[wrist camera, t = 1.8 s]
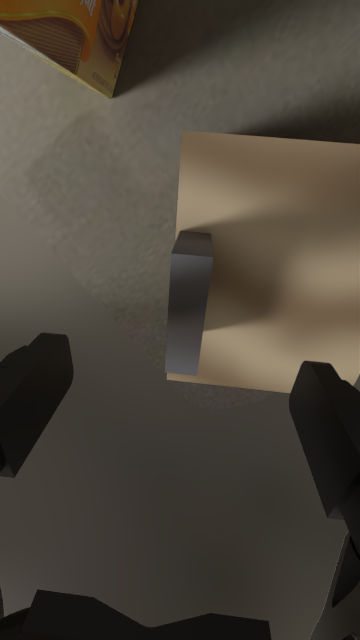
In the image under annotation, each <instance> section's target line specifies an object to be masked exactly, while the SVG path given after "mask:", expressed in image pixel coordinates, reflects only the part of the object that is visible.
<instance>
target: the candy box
mask: <svg viewBox="0 0 360 640" xmlns="http://www.w3.org/2000/svg"><path fill="white" fill-rule="evenodd" d="M137 4H138V0H0V33H1V34H2V35H4V36H5V37H7V38H9V39H10V40H12V41H13V42H15V43H16V44H18V45H20V46H21V47H23V48H24V49H26V50H28V51H29V52H31V53H32V54H34V55H35V56H37V57H39V58H40V59H42V60H43V61H45V62H46V63H48V64H50V65H51V66H53V67H54V68H56V69H58V70H59V71H61V72H63V73H64V74H66V75H68V76H69V77H71V78H73V79H75V80H76V81H78V82H80V83H82V84H83V85H85V86H87V87H89V88H91V89H92V90H94V91H96V92H98V93H100V94H102V95H104V96H105V97H107V98H109V99H111V98H112V95H113V91H114V88H115V84H116V81H117V77H118V74H119V70H120V66H121V63H122V59H123V55H124V52H125V48H126V44H127V41H128V37H129V33H130V30H131V27H132V23H133V19H134V15H135V12H136V8H137Z"/></svg>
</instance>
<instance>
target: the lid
mask: <svg viewBox="0 0 360 640" xmlns="http://www.w3.org/2000/svg"><path fill="white" fill-rule="evenodd" d="M304 361H316V362H326V363H330V364H331V365H332V366H333V367H334V369H335V370H336V372H337V373H338V375H339V377H340V378H341V380H346V381H348V382H349V383H350V384H351V385H352V386H353V385H354V384H355V382H356V379H357V378H358V376H359V374H360V144H351V143H338V142H326V141H313V140H300V139H287V138H274V137H261V136H249V135H236V134H223V133H210V132H197V131H185V130H182V141H181V158H180V174H179V190H178V207H177V223H176V239H175V245H174V248H173V250H172V253H171V269H170V288H169V306H168V324H167V342H166V360H165V373H167V379H168V380H177V381H186V382H195V383H204V384H213V385H222V386H231V387H240V388H249V389H258V390H267V391H276V392H285V393H291V390H292V388H293V385H294V382H295V380H296V377H297V374H298V372H299V369H300V366H301V364H302V363H303V362H304Z"/></svg>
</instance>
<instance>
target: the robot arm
mask: <svg viewBox="0 0 360 640" xmlns="http://www.w3.org/2000/svg"><path fill="white" fill-rule="evenodd" d="M73 372H74V371H73V364H72V357H71V351H70V345H69V340H68V337H67V336H66V335H62V334H52V333H41V334H40V335H38V336H37V337H36V339H34V341H32V342H31V344H29V345H28V346H23V347H21V348H19V349H17V350H15V351H13V352H12V353H10V354H8V355H7V356H6V357H5V358H4V359H3V360H2V361H1V362H0V476H3V477H11V478H14V477H15V476H16V474H17V473H18V471H19V470H20V468H21V466H22V465H23V463H24V461H25V460H26V458H27V456H28V455H29V453H30V451H31V450H32V448H33V447H34V445H35V443H36V442H37V440H38V439H39V437H40V435H41V434H42V432H43V430H44V429H45V427H46V425H47V424H48V422H49V420H50V419H51V417H52V415H53V414H54V412H55V411H56V409H57V407H58V406H59V404H60V403H61V401H62V399H63V398H64V396H65V394H66V393H67V391H68V389H69V388H70V386H71V383H72V380H73ZM289 409H290V413H291V416H292V419H293V422H294V424H295V427H296V430H297V433H298V436H299V439H300V442H301V444H302V447H303V450H304V453H305V456H306V459H307V462H308V465H309V467H310V470H311V473H312V476H313V479H314V482H315V484H316V487H317V490H318V493H319V496H320V499H321V502H322V505H323V507H324V510H325V513H326V516H327V518H333V519H340V520H345V523H346V525H347V528H348V530H349V531H348V532H347V534H346V535H345V538H344V541H343V545H342V548H341V551H340V555H339V558H338V562H337V565H336V569H335V572H334V575H333V579H332V582H331V586H330V589H329V592H328V596H327V599H326V603H325V606H324V609H323V611H322V614H321V616H320V618H319V620H318V622H317V624H316V626H315V628H314V630H313V632H312V634H311V636H310V639H309V640H360V392H359V391H358V390H357V389H356V388H355V387H354V386H352V385H351V384H350V383H349V382H348V381H346V380H341V378H340V377H339V375H338V373H337V372H336V370H335V369H334V367H333V366H332V365H331V364H330V363H326V362H316V361H304V362H303V363H302V364H301V366H300V369H299V372H298V374H297V377H296V380H295V382H294V385H293V388H292V390H291V393H290V398H289ZM0 640H271V634H270V627H269V621H264V620H257V619H249V618H241V617H234V616H227V615H220V614H212V613H210V614H206V615H202V616H198V617H194V618H190V619H185V620H181V621H177V622H173V623H169V624H165V625H161V626H158V627H152V628H150V627H145V626H143V625H141V624H139V623H137V622H136V621H134V620H132V619H130V618H129V617H127V616H125V615H123V614H122V613H120V612H118V611H116V610H115V609H113V608H111V607H109V606H108V605H106V604H104V603H102V602H101V601H99V600H97V599H95V598H94V597H88V596H81V595H73V594H66V593H59V592H51V591H44V590H37V592H36V594H35V597H34V600H33V602H32V604H31V607H29V608H25V609H22V610H20V611H17V612H15V613H12V614H9V615H8V616H6V617H4V604H3V596H2V591H1V586H0Z"/></svg>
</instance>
